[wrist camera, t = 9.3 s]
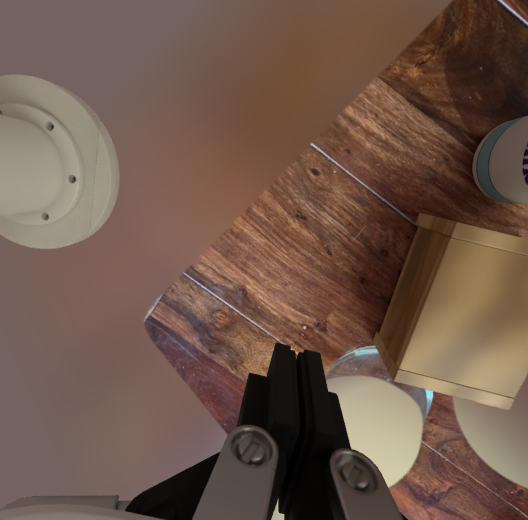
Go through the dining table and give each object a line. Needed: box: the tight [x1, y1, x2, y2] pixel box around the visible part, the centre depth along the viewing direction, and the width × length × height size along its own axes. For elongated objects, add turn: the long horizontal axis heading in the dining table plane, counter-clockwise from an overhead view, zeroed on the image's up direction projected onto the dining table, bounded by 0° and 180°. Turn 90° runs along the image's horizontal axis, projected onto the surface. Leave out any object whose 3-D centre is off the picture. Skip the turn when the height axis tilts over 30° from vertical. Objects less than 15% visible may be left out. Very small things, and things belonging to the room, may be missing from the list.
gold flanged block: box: [373, 213, 528, 410], centre depth 28 cm, size 10×14×7 cm
